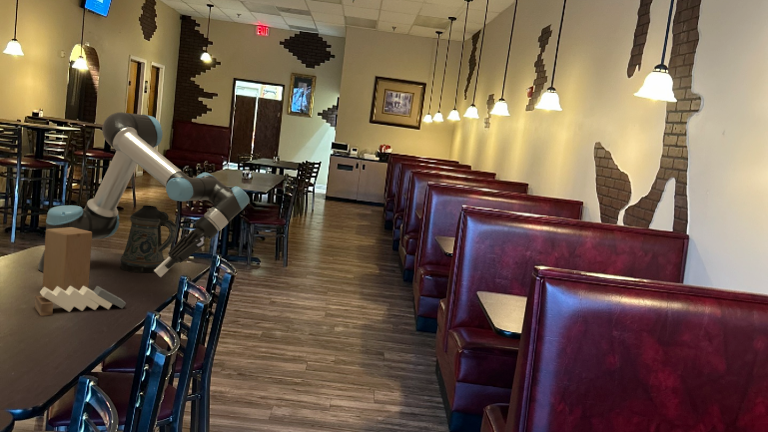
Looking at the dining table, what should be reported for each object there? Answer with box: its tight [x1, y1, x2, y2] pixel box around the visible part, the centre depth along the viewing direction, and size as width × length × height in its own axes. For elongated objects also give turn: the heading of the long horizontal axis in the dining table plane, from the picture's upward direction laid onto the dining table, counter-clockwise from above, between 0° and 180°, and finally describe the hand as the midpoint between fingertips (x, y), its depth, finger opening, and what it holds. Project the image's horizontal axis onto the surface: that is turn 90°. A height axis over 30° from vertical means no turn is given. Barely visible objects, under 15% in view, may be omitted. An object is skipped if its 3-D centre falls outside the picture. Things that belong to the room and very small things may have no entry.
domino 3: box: [66, 286, 100, 311], centre depth 196 cm, size 2×5×9 cm
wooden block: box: [42, 227, 93, 291], centre depth 213 cm, size 10×10×20 cm
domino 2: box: [53, 286, 88, 312], centre depth 193 cm, size 2×5×9 cm
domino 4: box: [79, 286, 113, 310], centre depth 198 cm, size 2×5×9 cm
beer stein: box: [120, 205, 177, 274], centre depth 255 cm, size 16×19×25 cm
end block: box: [34, 295, 54, 317], centre depth 189 cm, size 3×9×4 cm, turn 38°
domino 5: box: [92, 285, 127, 309], centre depth 200 cm, size 2×5×9 cm
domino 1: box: [39, 286, 75, 313], centre depth 191 cm, size 2×5×9 cm
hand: (157, 273), depth 208 cm, fingers closed
